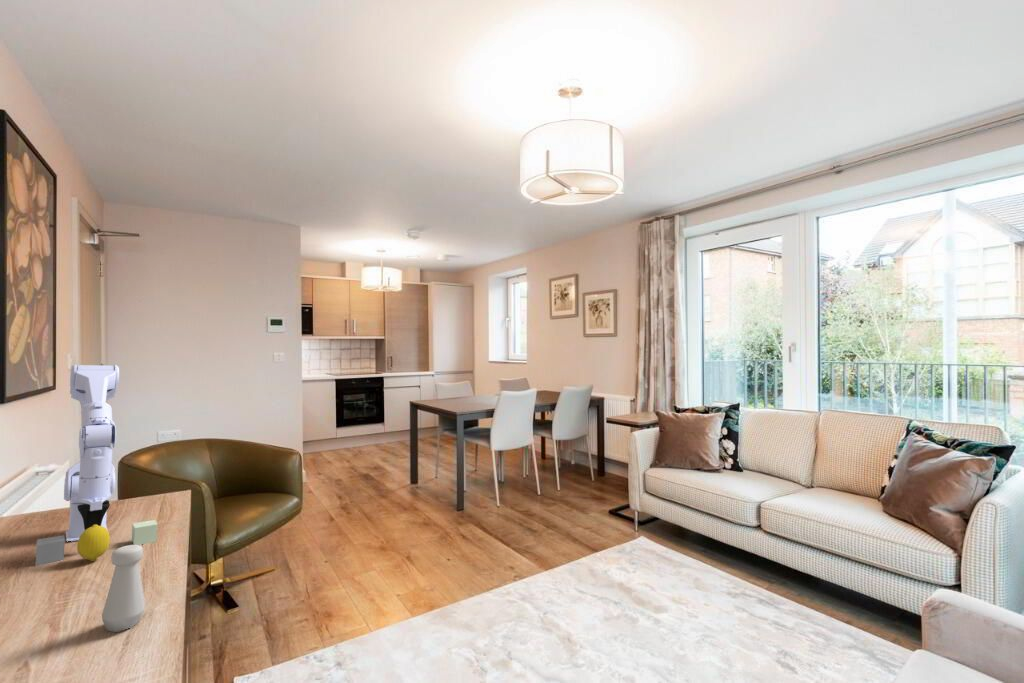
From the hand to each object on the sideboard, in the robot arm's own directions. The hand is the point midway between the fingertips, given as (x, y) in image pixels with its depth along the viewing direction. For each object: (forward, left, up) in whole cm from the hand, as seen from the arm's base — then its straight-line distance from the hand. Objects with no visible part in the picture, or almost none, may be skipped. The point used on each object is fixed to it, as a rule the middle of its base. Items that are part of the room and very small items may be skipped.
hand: (91, 535), depth 113 cm
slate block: (0, -7, -4) cm, 8 cm away
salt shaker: (+45, +2, -4) cm, 45 cm away
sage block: (0, +10, -4) cm, 11 cm away
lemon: (+7, 0, -4) cm, 8 cm away
